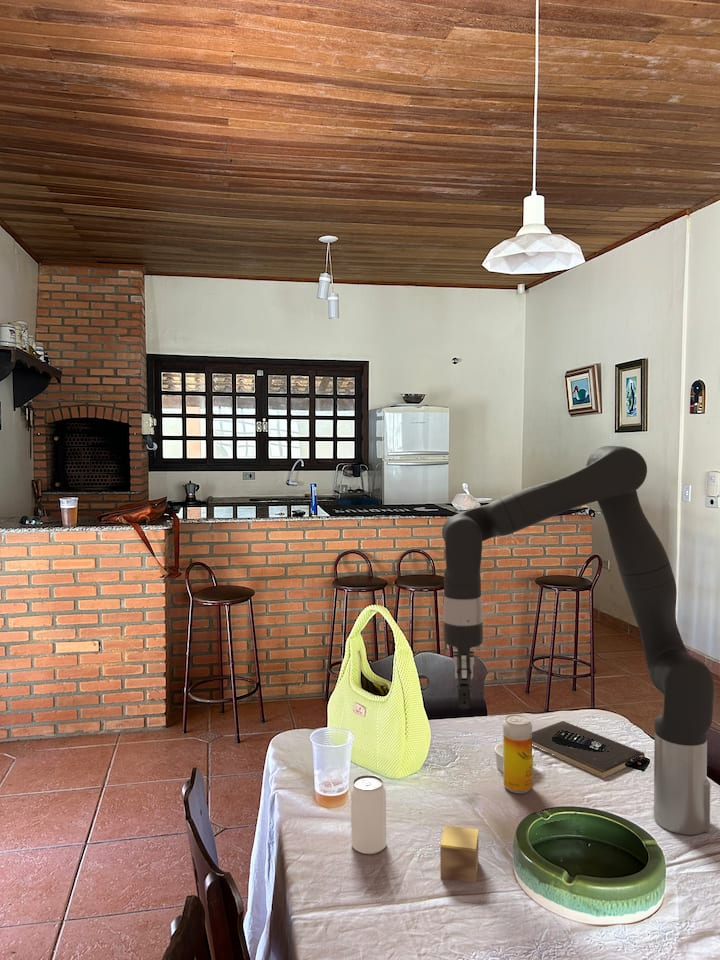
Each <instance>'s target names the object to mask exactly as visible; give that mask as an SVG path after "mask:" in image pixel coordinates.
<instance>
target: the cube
mask: <svg viewBox="0 0 720 960" xmlns="http://www.w3.org/2000/svg"><path fill="white" fill-rule="evenodd" d="M439 849H440V855H439V856H440V858H439V859H440V863H439V865H440V867H439V868H440V879H444V880H451V881H452V880H453V881H457V882H459V881H460V882H467V883H472V884H473V883H474V884H477V877H478V869H479V829H477V828H469V827H460V826H452V825H446V824H445V825H444V826H443V831H442V835H441V840H440V848H439Z"/></svg>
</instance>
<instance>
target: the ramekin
mask: <svg viewBox="0 0 720 960" xmlns="http://www.w3.org/2000/svg"><path fill="white" fill-rule="evenodd" d="M494 752H495V761H496V762H495V763H496V767H497V769H498V770H499V771H500V772H501V773H503V742H500V743H498V744H496V745H495V747H494ZM534 756H535V750H534V748H532V767H533V764H534Z"/></svg>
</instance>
